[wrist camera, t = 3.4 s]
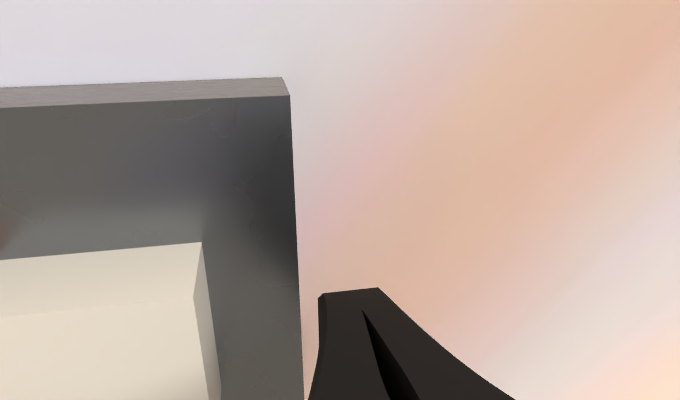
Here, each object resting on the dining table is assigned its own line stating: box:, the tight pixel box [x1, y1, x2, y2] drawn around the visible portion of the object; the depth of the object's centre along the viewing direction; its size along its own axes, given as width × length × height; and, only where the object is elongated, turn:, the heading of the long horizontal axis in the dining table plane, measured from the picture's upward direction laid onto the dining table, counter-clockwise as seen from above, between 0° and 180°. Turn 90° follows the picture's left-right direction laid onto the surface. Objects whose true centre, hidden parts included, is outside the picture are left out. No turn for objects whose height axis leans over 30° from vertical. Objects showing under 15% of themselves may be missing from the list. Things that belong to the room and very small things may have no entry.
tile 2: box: [0, 242, 221, 400], centre depth 10 cm, size 4×4×2 cm
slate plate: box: [0, 77, 304, 400], centre depth 11 cm, size 10×12×2 cm
